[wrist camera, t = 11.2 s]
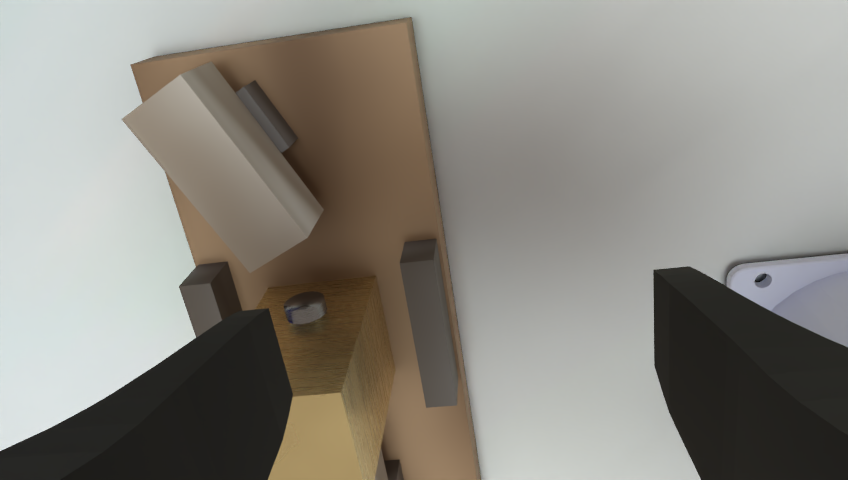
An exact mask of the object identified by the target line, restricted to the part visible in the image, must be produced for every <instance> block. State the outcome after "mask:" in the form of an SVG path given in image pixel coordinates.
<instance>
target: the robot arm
mask: <svg viewBox="0 0 848 480" xmlns="http://www.w3.org/2000/svg"><path fill="white" fill-rule="evenodd" d="M763 273H765V274H767V276H766V278H765V279H764V280H763V281H761V282H754V281H755V279H756V277H757V276H758V275H760V274H763ZM654 358H655V369H656V372H657V375H658V378H659V382H660V385H661V388H662V392H663V395H664V398H665V401H666V404H667V407H668V410H669V413H670V415H671V417H672V419H673V421H674V424H675V426H676V428H677V430H678V432H679V434H680V436H681V438H682V441H683V443H684V445H685V447H686V449H687V451H688V453H689V455H690V457H691V459H692V462H693V464H694V466H695V468H696V470H697V472H698V474H699V476H700V478H701V480H848V253H847V254H837V255H827V256H816V257H806V258H796V259H786V260H776V261H766V262H756V263H745V264H740V265H737V266H735V267H734V268H732V269H731V271H730V272H729V273H728V276H727V286H725V285H723V284H721V283H719V282H718V281H716V280H714V279H712V278H711V277H709V276H707V275H705V274H703V273H701V272H700V271H698V270H696V269H693V268H691V267H679V268H669V269H659V270H654ZM292 398H293V393H292V389H291V385H290V382H289V378H288V375H287V371H286V368H285V364H284V361H283V357H282V354H281V350H280V346H279V343H278V339H277V336H276V332H275V329H274V325H273V322H272V318H271V315H270V311H269V308H265V309H255V310H245V311H238V312H236V313H234V314H232V315H230V316H229V317H227V318H225V319H224V320H222V321H220V322H219V323H217V324H216V325H214V326H213V327H211V328H210V329H208V330H207V331H205V332H204V333H202V334H201V335H200V336H198V337H197V338H195V339H194V340H192V341H191V342H189V343H188V344H187V345H185V346H184V347H182V348H181V349H179V350H178V351H176V352H175V353H174V354H172V355H171V356H169V357H168V358H166V359H165V360H163V361H162V362H161V363H159V364H158V365H156V366H154V367H153V368H151V369H150V370H148V371H147V372H145V373H144V374H142V375H141V376H139V377H137V378H136V379H134V380H133V381H131V382H130V383H128V384H127V385H125V386H123V387H122V388H120V389H119V390H117V391H116V392H114V393H113V394H111V395H109V396H108V397H106V398H104V399H103V400H101V401H99V402H97V403H96V404H94V405H92V406H90V407H89V408H87V409H85V410H83V411H81V412H79V413H78V414H76V415H74V416H72V417H70V418H68V419H66V420H65V421H63V422H61V423H59V424H57V425H55V426H53V427H51V428H49V429H47V430H45V431H43V432H41V433H39V434H37V435H34V436H32V437H30V438H28V439H26V440H24V441H21V442H19V443H17V444H15V445H13V446H11V447H8V448H6V449H4V450H2V451H0V480H268V478H269V475H270V472H271V470H272V467H273V465H274V462H275V459H276V457H277V454H278V452H279V449H280V446H281V444H282V441H283V437H284V433H285V429H286V425H287V421H288V417H289V412H290V407H291V403H292Z"/></svg>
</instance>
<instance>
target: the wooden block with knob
mask: <svg viewBox="0 0 848 480" xmlns="http://www.w3.org/2000/svg"><path fill="white" fill-rule="evenodd" d="M265 308H269V311H270V315H271V318H272V322H273V325H274V329H275V332H276V336H277V339H278V343H279V346H280V350H281V354H282V357H283V361H284V364H285V368H286V371H287V375H288V378H289V382H290V385H291V389H292V393H293V398H292V403H291V407H290V412H289V417H288V421H287V425H286V429H285V433H284V437H283V441H282V444H281V446H280V449H279V452H278V454H277V457H276V459H275V462H274V465H273V467H272V470H271V472H270V475H269V478H268V480H375V475H376V470H377V465H378V460H379V454H380V449H381V444H382V438H383V433H384V428H385V422H386V417H387V412H388V407H389V401H390V396H391V391H392V385H393V380H394V375H395V370H396V368H395V364H394V359H393V354H392V349H391V345H390V340H389V335H388V330H387V325H386V321H385V316H384V311H383V306H382V302H381V297H380V292H379V287H378V282H377V278H376V276H368V277H359V278H350V279H341V280H332V281H323V282H314V283H304V284H295V285H286V286H277V287H268V289H267V291H266V292H265V294H264V295H263V297H262V299H261V300H260V302H259V304H258V305H257V307H256V309H265Z"/></svg>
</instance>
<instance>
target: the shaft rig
mask: <svg viewBox="0 0 848 480" xmlns="http://www.w3.org/2000/svg"><path fill="white" fill-rule="evenodd" d="M131 68H132V71H133V74H134V77H135V80H136V83H137V86H138V89H139V93H140V96H141V99H142V102H143V103H142V104H141V105H140V106H138V107H137V108H136V109H134V110H133V111H132V112H131V113H129V114H128V115H127V116H125V117H124V118H123V119H122V120H123V122H124V123H125V124H126V125H127V126H128V128H129V129H130V130H131V131H132V132H133V134H134V135H135V136H136V137H137V138H138V140H139V141H140V142H141V143H142V144H143V146H144V147H145V148H146V149H147V150H148V152H149V153H150V154H151V155H152V156H153V158H154V159H155V160H156V161H157V162H158V164H159V165H160V166H161V167H162V168H163V170H164V171H165V173H166V176H167V179H168V182H169V185H170V188H171V191H172V194H173V197H174V201H175V204H176V207H177V210H178V213H179V216H180V219H181V222H182V225H183V228H184V231H185V234H186V238H187V241H188V244H189V247H190V250H191V253H192V256H193V259H194V262H195V265H196V268H195V269H194V270H193V271H192V272H191V273H190V275H189V276H188V277H187V278H186V279H185V280H184V281H183V283H182V284H181V285H180V286H179V288H180V291H181V294H182V297H183V300H184V303H185V306H186V309H187V311H188V314H189V317H190V320H191V323H192V326H193V329H194V332H195V335H196V338H197V337H198V336H200V335H201V334H202V333H204V332H205V331H207V330H208V329H210V328H211V327H213V326H214V325H216V324H217V323H219V322H220V321H222V320H224V319H225V318H227V317H229V316H230V315H232V314H234V313H236V312H238V311H245V310H255V309H256V307H257V305H258V304H259V302H260V300H261V299H262V297H263V295H264V294H265V292H266V291H267V289H268V287H277V286H286V285H295V284H304V283H314V282H323V281H332V280H341V279H350V278H359V277H368V276H376V278H377V282H378V287H379V292H380V297H381V302H382V306H383V311H384V316H385V321H386V325H387V330H388V335H389V340H390V345H391V349H392V354H393V359H394V364H395V368H396V370H395V375H394V380H393V385H392V391H391V396H390V401H389V407H388V412H387V417H386V422H385V428H384V433H383V438H382V444H381V449H380V454H379V460H378V465H377V470H376V475H375V480H481V475H480V469H479V462H478V455H477V449H476V442H475V436H474V429H473V422H472V416H471V409H470V402H469V396H468V389H467V383H466V376H465V369H464V363H463V356H462V349H461V343H460V336H459V330H458V323H457V316H456V310H455V303H454V296H453V290H452V283H451V277H450V270H449V263H448V257H447V250H446V243H445V237H444V230H443V224H442V217H441V210H440V204H439V197H438V190H437V184H436V177H435V171H434V164H433V157H432V151H431V144H430V137H429V131H428V124H427V118H426V111H425V104H424V98H423V91H422V84H421V78H420V71H419V65H418V58H417V51H416V45H415V38H414V31H413V25H412V18H411V17H410V18H403V19H397V20H390V21H384V22H377V23H371V24H364V25H358V26H351V27H345V28H338V29H332V30H325V31H319V32H312V33H306V34H299V35H293V36H286V37H280V38H273V39H267V40H260V41H254V42H247V43H241V44H234V45H228V46H221V47H215V48H208V49H202V50H195V51H189V52H182V53H176V54H169V55H163V56H156V57H152V58H149V59H146V60H143V61H140V62H137V63H134V64H131Z"/></svg>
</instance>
